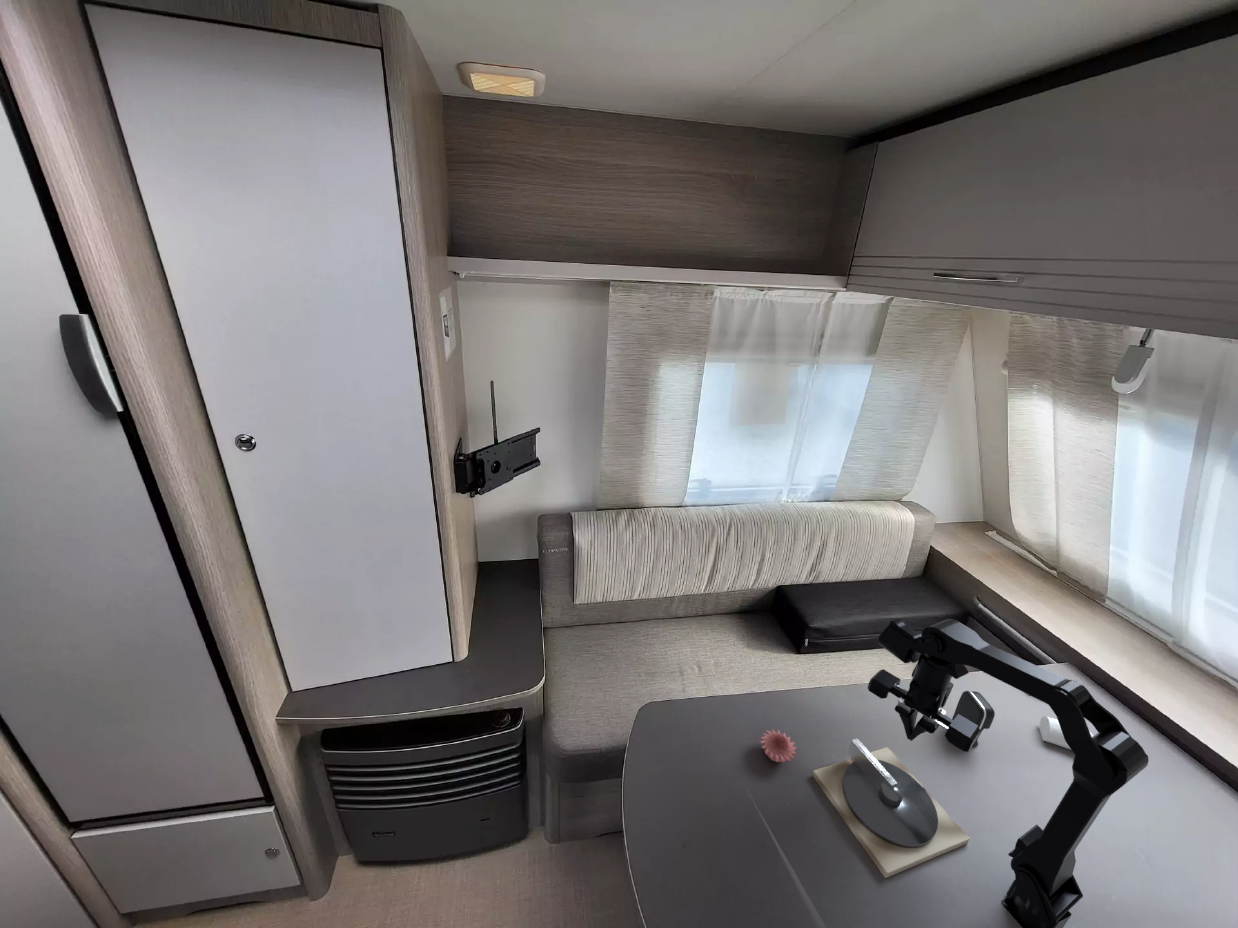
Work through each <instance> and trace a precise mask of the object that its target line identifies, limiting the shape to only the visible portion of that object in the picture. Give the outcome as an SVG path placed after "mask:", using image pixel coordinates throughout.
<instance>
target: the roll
mask: <svg viewBox="0 0 1238 928" xmlns="http://www.w3.org/2000/svg"><path fill="white" fill-rule="evenodd" d="M1039 720H1040V721H1039V724H1038V726H1039V727H1038V729H1039V732H1040V735H1041V738H1042V741H1043V742H1047V743H1049V744H1053V745H1056V746H1058V747H1062V748H1065V749H1067V750H1070V751H1072V750H1071V748H1070V747H1069V746H1068V744H1067V743H1066V741H1065V739H1064V736H1063V733H1062V730H1061V727H1060V725H1059V722H1058V719H1057V718H1052V717H1051V716H1050V717H1049V716H1048V715H1047V716H1046V715H1043V716H1041V718H1040V719H1039ZM1089 732H1090V734H1091V737H1093V736H1095V735H1094V734H1093V733H1092V732H1091V730H1089Z"/></svg>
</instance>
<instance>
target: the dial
mask: <svg viewBox="0 0 1238 928" xmlns="http://www.w3.org/2000/svg"><path fill="white" fill-rule="evenodd" d="M849 743H850V744H849V745H848V750H847V752H846V754H847V755H848V757H850V759H851V758H852V760H853V761H854V762H853V763H851V764H850V765H849V766H848V767H847V769H846V771H845V774H844V777H843V781H842V789H843V794H844V797H845V800H846V802H847V804H848V806H849V808H850V810H851V811H852V813H853V814H854V815H855V817H856V818H857V819H858V820H859V821H860V822H861V823H862V824H863V825H864V826H865V827H866V828H867V829H868V830H869V831H870V832H872V833H873V834H875V835H876V836H878V837H879V838H881V839H882V840H884V841H886V842H889V843H891V844H894V845H896V846H900V847H905V848H918V847H922V846H925V845H926V844H928V843H929V842H930V841H931V840H932V839H933V837H934V835H935V833H936V831H937V828H938V816H937V811H936V809H935V806H934V804H933V802H932V800H931V798H930V797H929V795H928V794H927V792H926V791H925V790H924V789H923V787H924V786H923V785H922V784H921V783H920V782H919V783H920V784H921V785H922V786H923V787H922V786H921V785H920V784H919V783H918V782H917V781H916V780H915V779H914V778H912V777H911V776H910V775H909V774H907V773H906V772H905V771H903V770H901V769H900V768H898V767H896V766H894V765H892V764H890V763H887V762H884V761H881V760H877V759H876V758H875V757H874V756H873V755H872V754H871V753H870V752H871V751H869V749H868V748H867V747H866V746H865V745H864V744H863V743H862V741H860V740H859V738H858V737H857V738H854V739H851V740H850V742H849Z"/></svg>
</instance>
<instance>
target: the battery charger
mask: <svg viewBox="0 0 1238 928" xmlns="http://www.w3.org/2000/svg"><path fill="white" fill-rule="evenodd" d="M958 714H959V715H961V716H963V717H964V718H966V719H968V720H970V721H971V722H973V723H975V724H976V725H978V726H979V729H980V733H979V736H978V738H977V740H976V741H975V743H974V744H973V746H972V747H971V748H976V747H978V745H979V742H978V741H979V740H978V739H979V737H980V736H981V734H982V732H983V731H984V730H989V729H990V728H991V726H992V724H993V721H994V719H995V716H996V713H995V710H994V708H993V707H992V705H991V704H990V703H989V702H988V701H987V699H986V698H985V697H984V696H983V694H982V693H980V692H979V691H975V690H974V691H971V690H965V691H963V692H962V694H961V695H960V697H959V700H958V702H957V704H956V708H955V710H954V713H953V715H952V717H951V719H953V720H954V719H955V718H956V716H957V715H958Z"/></svg>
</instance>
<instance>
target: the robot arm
mask: <svg viewBox="0 0 1238 928" xmlns="http://www.w3.org/2000/svg"><path fill="white" fill-rule="evenodd" d="M877 641H878V645H880V646H881V647H882V648H883V649H885V650H886V651H888V652H889V653H890V654H891V655H893V656H894V657H896V658H897V659H898V660H900V661H901V662H902V663H904V664H909V663H913V664H915V663H916V664H915V667H914V669H913V670H912V672H911V677H912V678H911V681H910V683H909V685H908V687H909V688H908V690H907V689H905V688H904V687H902V686H900V685H901V679H900V678H899V677H897V676H895V675H894V674H892V673H891V672H889V671H887V670H886V669H879V671H877V672H876V673H875V674H874V675H873V676H872V677H871V678H870V680H869V682H868V685H867V690H868V691H869V692H870V693H871V694H873V695H875V696H876V697H878V698H880V699H881V700H882V699H887V698H888V696H889V693H890V694H892V695H894V696H895V697H897V698H898V700H897V704H896V706H895V707H894V711H895V712H896V713H897V714H898V715H899V717H900V720H901V722H902V724H903V729H904V733H905V736H906V739H908V740H909V741H910V742H913V740H914V739H916V738H917V737H919V736H920V735H922V734H924V733H929V734H932V735H933V734H934V733H935V732H936V731H937V730H938V729H939V727H942V728H943V729H945V730H946V732H945V734H944V736H945V738H946V741H947V742H948V743H950V744H951V745H953V746H954V747H956V748H957V749H959V750H961V751H962V752H964V753H965V752H966V753H969V751H970V750H971V749H972V748H973V747H972V746H973V744H974V743H975V741H976V740H977V738H978V739H979V737H980V736H979V733H980V729H979V726H978V725H976V724H975V723H973V722H971V721H970V720H968V719H966V718H964V717H963V716H961V715H959V714H958V715H957V716H956V718H955V719H954V720H953V719H952V717H949V716H948V715H946V714H947V712H946V710H944V707H945V706H946V703H947V701H948V698H949V696H950V694H951V693H952V690H953V687H954V682H951V681H952V678H953V679H956V680H958V679H960V678H961V677H964V676H967V675H969V670H968V668H967V667H971V668H974V669H977V670H979V671H980V672H982V673H985V674H986V675H988V676H990V677H992V678H995V679H996V680H999V681H1000V682H1002V683H1004V684H1006V685H1008V686H1010V687H1011V688H1014V689H1016V690H1019V691H1020V692H1022V693H1025V694H1026V695H1028V696H1031V697H1032V698H1033V699H1036V700H1038V701H1040V702H1042V703H1044V704H1046V705H1048V706H1049V708H1050V709H1051V710H1052V712H1053V713H1054V714H1055V716H1056V719H1058V722H1059V725H1060V727H1061V730H1062V733H1063V736H1064V739H1065V741H1066V743H1067V744H1068V746H1069V747H1070V748H1071V750H1070V751H1072V753H1073V754H1074V757H1073V761H1072V766H1071V771H1072V777H1073V778H1072V782H1071V784H1070V785H1069V786H1068V788H1067V790H1066V792H1065V793H1064V795H1063V797H1062V798H1061V800H1060V801H1059V803H1058V805H1057V806H1056V808H1055V810H1054V811H1053V814H1052V815H1051V816H1050V818H1049V820H1048V821H1047V823H1046V825H1045V826H1044V828H1043V829H1042V828H1041V827H1040V826H1039V824H1035V825H1034V826H1033V827H1031V828H1030V829H1029V830H1028V831H1026V832H1025V833H1024V834H1022V835H1021V836H1020V837H1019V838H1017V840H1016V842H1015V845H1014V849H1012V850H1011V851H1010V852H1008V853H1007V854H1008V856H1009V857H1011V858H1012V859H1011V860H1010V868H1011V870H1012V871H1013V873H1014V876H1015V877H1014V878H1015V879H1014V880H1013V881H1012V883H1011V884H1010V886H1009V888H1008V889H1007V891H1006V893H1005V894H1006V896H1007V897H1006V898H1004V899H1002V900H1001V905H1002V906H1003V908H1005V910H1006V911H1007V913H1009V914H1010V915H1011V916H1012V918H1013V919H1014V920H1015V921H1016V922H1017V923H1018V925H1019V926H1020V927H1021V928H1064V927H1065V926H1066V924H1067V922H1068V921H1069V919H1071V916H1072V912H1070V910H1071V909H1072V908H1073V907H1074V906H1075V905H1076V904H1077V903H1078V902H1079V901H1080V900H1081V899H1083V897H1084V895H1083V892H1082V890H1081V889H1080V886H1079V884H1078V882H1077V880H1076V878H1075V875H1074V870H1075V866H1076V862H1077V861H1076V860H1077V859H1076V855H1075V851H1076V850H1077V848H1078V847H1079V844H1080V843H1081V842H1082V840H1083V838H1084V837H1085V836H1086V834H1087V832H1088V831H1089V830H1090V828H1091V826H1092V825H1093V823H1094V822H1095V820H1096V819H1097V817H1099V814H1100V813H1101V811H1102V810H1103V808H1104V806H1105V805H1106V804H1107V803H1108V801H1109V799H1110V797H1111V796H1112V795H1113V794H1114V793H1116V792H1118V791H1119V790H1120V789H1121V788H1122V787H1124V786H1125V785H1126V784H1128V782H1130V781H1131V780H1132V779H1133V778H1134V777H1136V776H1137V775H1138V774H1139V773H1140V772H1142V771H1143V770H1145V769H1146V767H1147V766H1148V763H1149V755H1148V754H1147V753H1146V751H1145V749H1144V748H1143V747H1142V746H1141V745H1140V743H1139V742H1138V740H1135V739H1134V738H1133V737H1132V736H1131V735H1130V733H1129V732H1128V731H1127V729H1126V727H1124V725H1123V724H1122V723H1121V721H1120V720H1119V718H1117V717H1116V716H1115V715H1114V714H1113V713H1111V712H1110V711H1109V710H1108V709H1106V708H1105V707H1104V706H1103V705H1101V704H1100V703H1099V702H1098V701H1097V700H1096V699H1095V697H1093V695H1092V694H1091V692H1090V691H1089V690H1088V689H1087V688H1086V687H1085V686H1084V684H1082V683H1081V682H1079V681H1078V680H1077V681H1076V680H1073V679H1068V678H1065V677H1062V676H1061V675H1058V674H1056V673H1053V672H1052V671H1050V670H1047V669H1045V668H1042V667H1041V666H1038V665H1036V664H1034V663H1032V662H1030V661H1027V660H1025V659H1023V658H1021V657H1019V656H1016V655H1014V654H1012V653H1010V652H1007V651H1005V650H1003V649H1000V648H998V647H997V646H994V645H992V644H989V642H986V641H985V640H983V639H982V637H980V635H979V634H978V633H977V632H976V631H975V630H973V629H971V628H970V627H968V626H966V625H965V624H963V623H962V622H960V621H958V620H956V619H953V618H948V619H947V618H946V619H944V620H941V621H939V622H936V623H934V624H932V625H929V626H926V627H925V628H923V630H922V632H921V633H918V632H917V631H915V630H914V629H912V628H911V627H910V626H908V625H907V624H905V622H903V621H902V620H900V619H899V618H895V619H892V620H890V622H889V625H887V626H886V627H885V629H884V630H883V631H882V632H881V633H880V634H879V636H878V639H877ZM966 666H967V667H966ZM942 708H943V709H942ZM918 713H919V714H921V715H922V716H921V718H920V719H918V721H917V717H918ZM1086 721H1088V722H1089V723H1090V724H1091V725H1092V727H1094V729H1095V731H1097V733H1096V734H1095V735H1094V736H1093V737H1091V734H1090V732H1091V731H1090V729H1089V727H1088V724H1087V722H1086ZM1089 731H1090V732H1089ZM978 736H979V737H978ZM977 741H978V740H977ZM1004 903H1005V904H1006V905H1005V904H1004Z"/></svg>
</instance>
